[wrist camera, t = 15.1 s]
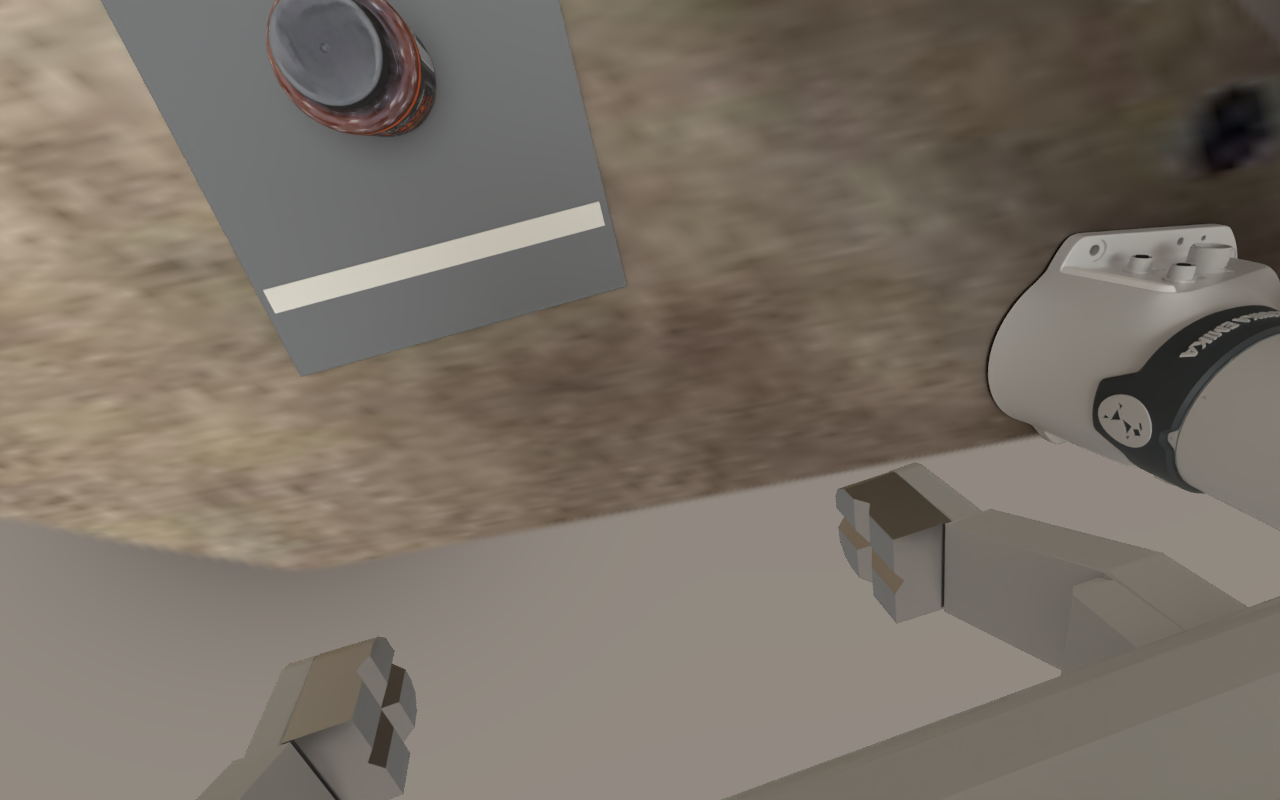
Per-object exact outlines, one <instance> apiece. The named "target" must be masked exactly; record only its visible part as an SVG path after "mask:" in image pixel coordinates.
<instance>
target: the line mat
mask: <svg viewBox="0 0 1280 800" xmlns="http://www.w3.org/2000/svg"><path fill="white" fill-rule="evenodd" d="M275 1H276V0H101V2H102V3H103V5H104V7H105V9H106V11H107V13H108V15H109V17H110V18H111V20H112V22H113V24H114V26H115V28H116V30H117V32H118V33H119V35H120V37H121V39H122V41H123V43H124V45H125V47H126V49H127V50H128V52H129V54H130V56H131V58H132V60H133V62H134V64H135V65H136V67H137V69H138V71H139V73H140V75H141V77H142V79H143V81H144V82H145V84H146V86H147V88H148V90H149V92H150V94H151V96H152V97H153V99H154V101H155V103H156V105H157V107H158V109H159V111H160V112H161V114H162V116H163V118H164V120H165V122H166V124H167V126H168V128H169V129H170V131H171V133H172V135H173V137H174V139H175V141H176V143H177V144H178V146H179V148H180V150H181V152H182V154H183V156H184V158H185V160H186V161H187V163H188V165H189V167H190V169H191V171H192V173H193V175H194V176H195V178H196V180H197V182H198V184H199V186H200V188H201V190H202V192H203V193H204V195H205V197H206V199H207V201H208V203H209V205H210V207H211V208H212V210H213V212H214V214H215V216H216V218H217V220H218V222H219V223H220V225H221V227H222V229H223V231H224V233H225V235H226V237H227V239H228V240H229V242H230V244H231V246H232V248H233V250H234V252H235V254H236V255H237V257H238V259H239V261H240V263H241V265H242V267H243V269H244V271H245V272H246V274H247V276H248V278H249V280H250V282H251V284H252V286H253V287H254V289H255V291H256V293H257V295H258V297H259V299H260V301H261V303H262V304H263V306H264V308H265V310H266V312H267V314H268V316H269V318H270V319H271V321H272V323H273V325H274V327H275V329H276V331H277V333H278V334H279V336H280V338H281V340H282V342H283V344H284V346H285V348H286V350H287V351H288V353H289V355H290V357H291V359H292V361H293V363H294V365H295V366H296V368H297V370H298V372H299V374H300V376H301V377H302V376H305V375H309V374H312V373H316V372H320V371H323V370H327V369H330V368H334V367H338V366H341V365H345V364H348V363H352V362H356V361H359V360H363V359H366V358H370V357H374V356H377V355H381V354H384V353H388V352H392V351H395V350H399V349H402V348H406V347H410V346H413V345H417V344H420V343H424V342H428V341H431V340H435V339H438V338H442V337H446V336H449V335H453V334H456V333H460V332H464V331H467V330H471V329H474V328H478V327H482V326H485V325H489V324H492V323H496V322H500V321H503V320H507V319H510V318H514V317H518V316H521V315H525V314H528V313H532V312H536V311H539V310H543V309H546V308H550V307H554V306H557V305H561V304H564V303H568V302H572V301H575V300H579V299H582V298H586V297H589V296H593V295H597V294H600V293H604V292H607V291H611V290H615V289H618V288H622V287H625V286H627V284H626V280H625V275H624V271H623V267H622V263H621V259H620V254H619V250H618V246H617V242H616V238H615V234H614V229H613V225H612V221H611V217H610V213H609V208H608V204H607V200H606V196H605V192H604V187H603V183H602V179H601V175H600V171H599V167H598V162H597V158H596V154H595V150H594V146H593V141H592V137H591V133H590V129H589V125H588V121H587V116H586V112H585V108H584V104H583V100H582V95H581V91H580V87H579V83H578V79H577V75H576V70H575V66H574V62H573V58H572V54H571V49H570V45H569V41H568V37H567V33H566V28H565V24H564V20H563V16H562V12H561V8H560V3H559V0H386V1H387V2H388V3H389V4H390V5H391V6H392V7H393V8H394V9H395V10H396V11H397V13H398V14H399V15H400V16H401V17H402V19H403V20H404V21H405V22H406V24H407V25H408V26H409V27H410V29H411V30H412V31H413V32H414V34H415V35H416V36H417V37H418V38H419V39H420V41H421V42H422V44H423V45H424V47H425V49H426V50H427V52H428V54H429V56H430V59H431V61H432V64H433V67H434V71H435V76H436V86H437V89H436V96H435V101H434V104H433V107H432V109H431V111H430V113H429V115H428V117H427V118H426V119H425V120H424V121H423V123H422V124H421V125H420V126H418V127H417V128H416V129H414V130H413V131H410V132H408V133H406V134H402V135H399V136H395V137H379V136H364V135H353V134H347V133H342V132H339V131H336V130H333V129H330V128H328V127H326V126H324V125H322V124H320V123H318V122H317V121H315V120H314V119H312V118H310V117H309V116H307V115H306V114H305V113H304V112H302V111H301V110H300V109H299V108H298V107H297V106H296V105H295V104H294V103H293V102H292V101H291V100H290V98H289V97H288V96H287V95H286V93H285V92H284V90H283V89H282V87H281V85H280V84H279V82H278V80H277V78H276V77H275V74H274V72H273V69H272V66H271V63H270V60H269V56H268V52H267V45H266V29H267V22H268V18H269V14H270V11H271V8H272V6H273V5H274V3H275Z"/></svg>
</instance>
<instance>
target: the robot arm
mask: <svg viewBox="0 0 1280 800" xmlns="http://www.w3.org/2000/svg"><path fill="white" fill-rule="evenodd" d="M988 381H989V387H990V391H991V394H992V396H993V399H994V400H995V402H996V404H997V405H998V407H999V408H1000V409H1001V410H1002V411H1003V412H1004V413H1006V414H1007V415H1008V416H1010V417H1012V418H1014V419H1016V420H1019V421H1022V422H1025V423H1028V424H1030V425H1032V426H1033V427H1034V428H1035V430H1036V431H1037V432H1038V433H1039V435H1040V436H1041V437H1042V438H1044V439H1045V440H1047V441H1050V442H1052V443H1055V444H1061V443H1064V442H1066V441H1068V442H1071V443H1073V444H1076V445H1077V446H1080V447H1082V448H1085V449H1087V450H1089V451H1092V452H1094V453H1097V454H1099V455H1101V456H1104V457H1106V458H1108V459H1111V460H1113V461H1116V462H1118V463H1121V464H1123V465H1126V466H1129V467H1139V468H1141V469H1143V470H1145V471H1147V472H1149V473H1151V474H1153V475H1154V477H1155V478H1157V479H1160V480H1162V481H1164V482H1166V483H1168V484H1171V485H1175V486H1178V487H1180V488H1182V489H1184V490H1187V491H1190V492H1193V493H1205V494H1208V495H1210V496H1212V497H1214V498H1216V499H1218V500H1220V501H1222V502H1224V503H1226V504H1228V505H1230V506H1232V507H1234V508H1236V509H1238V510H1240V511H1242V512H1244V513H1246V514H1248V515H1250V516H1252V517H1253V518H1256V519H1258V520H1259V521H1262V522H1263V523H1265V524H1267V525H1269V526H1271V527H1273V528H1275V529H1277V530H1279V531H1280V281H1279V279H1278V276H1277V274H1276V273H1275V272H1274V271H1273V269H1271V268H1270V267H1269V266H1267V265H1264V264H1261V263H1256V262H1252V261H1247V260H1242V259H1237V247H1236V241H1235V238H1234V235H1233V232H1232V230H1231V228H1230V227H1228V226H1224V225H1220V224H1198V225H1184V226H1170V227H1157V228H1143V229H1129V230H1115V231H1101V232H1087V233H1077V234H1074V235H1072V236H1070V237H1069V238H1068V239H1067V240H1066V241H1065V242H1064V243H1063V244H1062V246H1061V247H1060V249H1059V250H1058V252H1057V253H1056V255H1055V257H1054V258H1053V260H1052V262H1051V264H1050V265H1049V267H1048V269H1047V271H1046V272H1045V273H1044V274H1043V275H1042V276H1041V277H1040V278H1039V280H1038V281H1036V282H1035V283H1034V284H1033V285H1032V286H1031V287H1030V288H1029V289H1028V290H1027V291H1026V292H1025V293H1024V294H1023V295H1022V296H1021V297H1020V299H1019V300H1018V301H1017V302H1016V303H1015V305H1014V306H1013V307H1012V309H1011V310H1010V312H1009V313H1008V314H1007V316H1006V318H1005V319H1004V321H1003V323H1002V325H1001V327H1000V329H999V331H998V333H997V335H996V338H995V340H994V343H993V346H992V350H991V353H990V358H989V366H988ZM836 507H837V509H838V510H839V511H840V512H841V513H842V515H843V516H844V518H843V520H842V522H841V524H840V526H839V527H838V528H839V536H840V543H841V545H842V548H843V551H844V554H845V557H846V558H847V560H848V562H849V564H850V566H851V567H852V568H853V570H854V571H855V572H856V574H857V575H858V576H859V577H860V578H862V579H864V580H867V581H870V582H872V583H873V591H874V596H875V598H876V599H877V600H878V601H879V603H880V604H881V605H882V606H883V608H884V609H885V610H886V611H887V612H888V614H889V615H890V616H891V617H892V618H893V620H894V621H895V622H896V623H900V622H903V621H906V620H909V619H913V618H916V617H919V616H922V615H925V614H928V613H932V612H935V611H938V610H941V609H944V611H945V612H947V613H949V614H951V615H953V616H955V617H957V618H959V619H961V620H963V621H965V622H967V623H968V624H970V625H972V626H975V627H977V628H978V629H980V630H982V631H984V632H987V633H988V634H990V635H992V636H994V637H997V638H998V639H1000V640H1002V641H1005V642H1006V643H1008V644H1010V645H1012V646H1014V647H1016V648H1018V649H1020V650H1022V651H1024V652H1026V653H1028V654H1030V655H1032V656H1034V657H1036V658H1038V659H1040V660H1042V661H1044V662H1046V663H1048V664H1050V665H1052V666H1054V667H1056V668H1058V669H1060V670H1061V676H1060V677H1057V678H1054V679H1051V680H1049V681H1046V682H1043V683H1040V684H1038V685H1035V686H1032V687H1029V688H1027V689H1024V690H1021V691H1018V692H1015V693H1013V694H1010V695H1007V696H1004V697H1002V698H999V699H996V700H994V701H991V702H988V703H986V704H983V705H980V706H977V707H974V708H972V709H969V710H966V711H963V712H961V713H958V714H955V715H953V716H950V717H947V718H944V719H941V720H939V721H936V722H933V723H931V724H928V725H925V726H922V727H920V728H917V729H914V730H911V731H909V732H906V733H903V734H900V735H897V736H895V737H892V738H890V739H887V740H884V741H881V742H878V743H876V744H873V745H870V746H867V747H865V748H862V749H859V750H856V751H854V752H851V753H848V754H846V755H843V756H840V757H837V758H834V759H832V760H829V761H826V762H823V763H821V764H818V765H815V766H812V767H810V768H807V769H804V770H801V771H799V772H796V773H793V774H790V775H788V776H785V777H782V778H780V779H777V780H774V781H771V782H769V783H766V784H763V785H761V786H758V787H755V788H752V789H749V790H747V791H744V792H741V793H738V794H736V795H733V796H730V797H727V798H725V799H722V800H1280V596H1279V597H1277V598H1274V599H1271V600H1268V601H1266V602H1263V603H1260V604H1257V605H1254V606H1252V607H1247V606H1246V605H1244V604H1242V603H1241V602H1239V601H1238V600H1236V599H1234V598H1233V597H1231V596H1230V595H1228V594H1226V593H1225V592H1223V591H1222V590H1220V589H1219V588H1217V587H1216V586H1214V585H1212V584H1211V583H1209V582H1208V581H1206V580H1204V579H1203V578H1201V577H1199V576H1198V575H1196V574H1195V573H1193V572H1192V571H1190V570H1188V569H1187V568H1185V567H1184V566H1182V565H1181V564H1179V563H1177V562H1176V561H1174V560H1173V559H1171V558H1170V557H1168V556H1167V555H1165V554H1163V553H1161V552H1157V551H1153V550H1149V549H1145V548H1141V547H1137V546H1133V545H1129V544H1125V543H1122V542H1118V541H1114V540H1110V539H1106V538H1102V537H1098V536H1094V535H1090V534H1086V533H1082V532H1079V531H1074V530H1071V529H1067V528H1063V527H1059V526H1055V525H1051V524H1047V523H1043V522H1040V521H1036V520H1032V519H1028V518H1024V517H1020V516H1016V515H1012V514H1009V513H1004V512H1001V511H997V510H993V509H989V510H986V511H981V510H980V509H979V508H977V507H976V506H975V505H974V504H972V503H971V502H970V501H968V500H967V499H966V498H965V497H963V496H962V495H961V494H959V493H958V492H957V491H956V490H954V489H953V488H951V487H950V486H949V485H948V484H946V483H945V482H944V481H942V480H941V479H940V478H939V477H937V476H936V475H935V474H934V473H932V472H931V471H930V470H928V469H927V468H926V467H924V466H923V465H922V464H918V463H912V464H909V465H906V466H904V467H901V468H898V469H895V470H892V471H890V472H889V473H885V474H882V475H879V476H876V477H873V478H870V479H867V480H864V481H861V482H858V483H855V484H852V485H849V486H846V487H843V488H840V489H837V493H836ZM393 656H394V650H393V648H392V647H391V645H390V644H389V642H388V641H387V639H386V638H384V637H376V638H372V639H369V640H365V641H362V642H359V643H355V644H352V645H349V646H346V647H342V648H339V649H335V650H332V651H329V652H325V653H322V654H320V655H318V656H313V657H310V658H307V659H304V660H300V661H297V662H294V663H290V664H289V665H288V666H286V667H285V668H284V669H283V670H282V671H281V673H280V676H279V678H278V680H277V682H276V685H275V687H274V689H273V692H272V694H271V696H270V699H269V701H268V703H267V705H266V708H265V710H264V712H263V715H262V717H261V719H260V721H259V724H258V726H257V728H256V730H255V733H254V735H253V737H252V739H251V742H250V744H249V746H248V749H247V751H246V753H245V756H244V758H241V759H238V760H235V761H233V762H232V763H231V764H230V765H229V766H228V767H227V768H226V769H225V770H224V771H223V772H222V773H221V774H220V775H219V776H218V777H217V778H216V779H215V780H214V781H213V783H212V784H211V785H210V786H209V787H208V788H207V789H206V790H205V791H204V792H203V793H202V794H201V795H200V796H199V797H198V798H197V799H196V800H389V799H392V798H394V797H397V796H400V795H403V793H404V787H405V781H406V775H407V769H408V764H409V757H410V752H409V750H408V749H407V747H406V746H405V744H404V741H405V740H406V738H407V737H408V735H409V734H410V733H411V731H412V730H413V729H414V727H415V720H416V713H417V709H416V708H417V707H416V695H415V690H414V687H413V684H412V681H411V679H410V677H409V675H408V673H407V672H406V670H405V669H403V668H401V667H398V666H396V665H394V664H392V661H393Z"/></svg>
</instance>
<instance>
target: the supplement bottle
mask: <svg viewBox="0 0 1280 800" xmlns="http://www.w3.org/2000/svg"><path fill="white" fill-rule="evenodd" d="M266 45H267V52H268V56H269V60H270V63H271V66H272V69H273V72H274V74H275V77H276V78H277V80H278V82H279V84H280V85H281V87H282V89H283V90H284V92H285V93H286V95H287V96H288V97H289V98H290V100H291V101H292V102H293V103H294V104H295V105H296V106H297V107H298V108H299V109H300V110H301V111H302V112H304V113H305V114H306V115H307V116H309V117H310V118H312V119H314V120H315V121H317V122H318V123H320V124H322V125H324V126H326V127H328V128H330V129H333V130H336V131H339V132H342V133H347V134H353V135H364V136H379V137H395V136H399V135H402V134H406V133H408V132H410V131H413V130H414V129H416V128H417V127H418V126H420V125H421V124H422V123H423V121H424V120H425V119H426V118H427V117H428V115H429V113H430V111H431V109H432V107H433V104H434V101H435V96H436V89H437V86H436V76H435V71H434V67H433V64H432V61H431V59H430V56H429V54H428V52H427V50H426V49H425V47H424V45H423V44H422V42H421V41H420V39H419V38H418V37H417V36H416V35H415V34H414V32H413V31H412V30H411V29H410V27H409V26H408V25H407V24H406V22H405V21H404V20H403V19H402V17H401V16H400V15H399V14H398V13H397V11H396V10H395V9H394V8H393V7H392V6H391V5H390V4H389V3H388V2H387V1H386V0H276V1H275V3H274V5H273V6H272V8H271V11H270V14H269V18H268V22H267V29H266Z"/></svg>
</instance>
